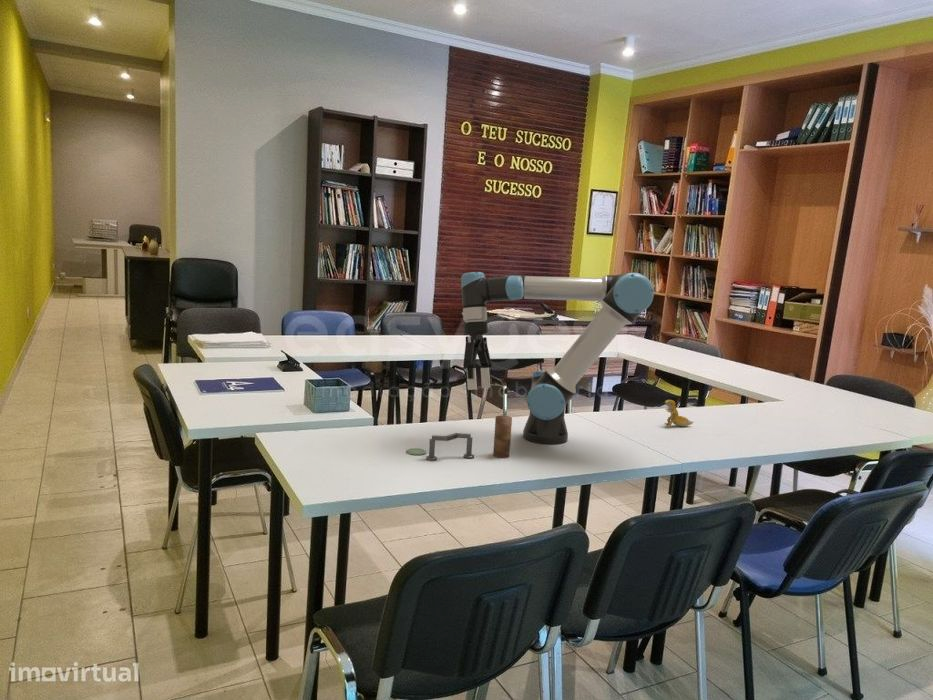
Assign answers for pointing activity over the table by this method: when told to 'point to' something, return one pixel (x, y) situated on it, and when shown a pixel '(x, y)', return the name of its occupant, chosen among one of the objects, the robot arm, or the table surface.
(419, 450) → the pad
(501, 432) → the dowel
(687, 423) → the toy
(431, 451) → the grey bent handle
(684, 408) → the table surface
